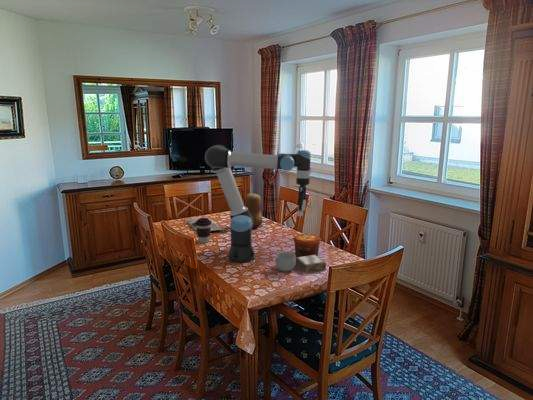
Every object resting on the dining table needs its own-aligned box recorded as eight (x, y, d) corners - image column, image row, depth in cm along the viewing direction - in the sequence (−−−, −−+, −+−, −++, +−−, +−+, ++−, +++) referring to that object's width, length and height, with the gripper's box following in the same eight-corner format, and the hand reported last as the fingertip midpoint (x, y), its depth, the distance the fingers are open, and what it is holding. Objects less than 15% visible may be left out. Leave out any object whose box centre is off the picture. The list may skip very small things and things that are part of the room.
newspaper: (186, 222, 282) (185, 219, 281) (210, 219, 290) (210, 216, 290) (200, 236, 250) (200, 232, 249) (227, 232, 258) (227, 228, 258)
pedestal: (304, 272, 189) (305, 265, 188) (295, 264, 200) (295, 256, 199) (325, 269, 193) (325, 262, 192) (315, 261, 204) (315, 254, 203)
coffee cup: (207, 244, 231) (206, 221, 228) (193, 243, 234) (192, 220, 231) (214, 240, 240) (213, 217, 237) (201, 238, 243) (200, 216, 240)
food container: (294, 249, 223) (294, 232, 221) (320, 251, 221) (321, 233, 218) (291, 259, 208) (291, 240, 206) (320, 260, 205) (320, 242, 203)
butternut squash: (264, 225, 272) (264, 192, 266) (259, 231, 259) (259, 196, 254) (246, 224, 275) (246, 191, 270) (241, 229, 262) (240, 195, 257)
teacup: (294, 274, 188) (294, 259, 186) (273, 272, 190) (273, 258, 188) (297, 264, 201) (297, 250, 199) (277, 262, 203) (277, 248, 201)
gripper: (307, 181, 200) (305, 219, 204) (311, 174, 224) (310, 208, 228) (293, 180, 201) (292, 218, 206) (299, 174, 225) (298, 207, 230)
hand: (301, 213), depth 217 cm, fingers open, 13 cm apart
